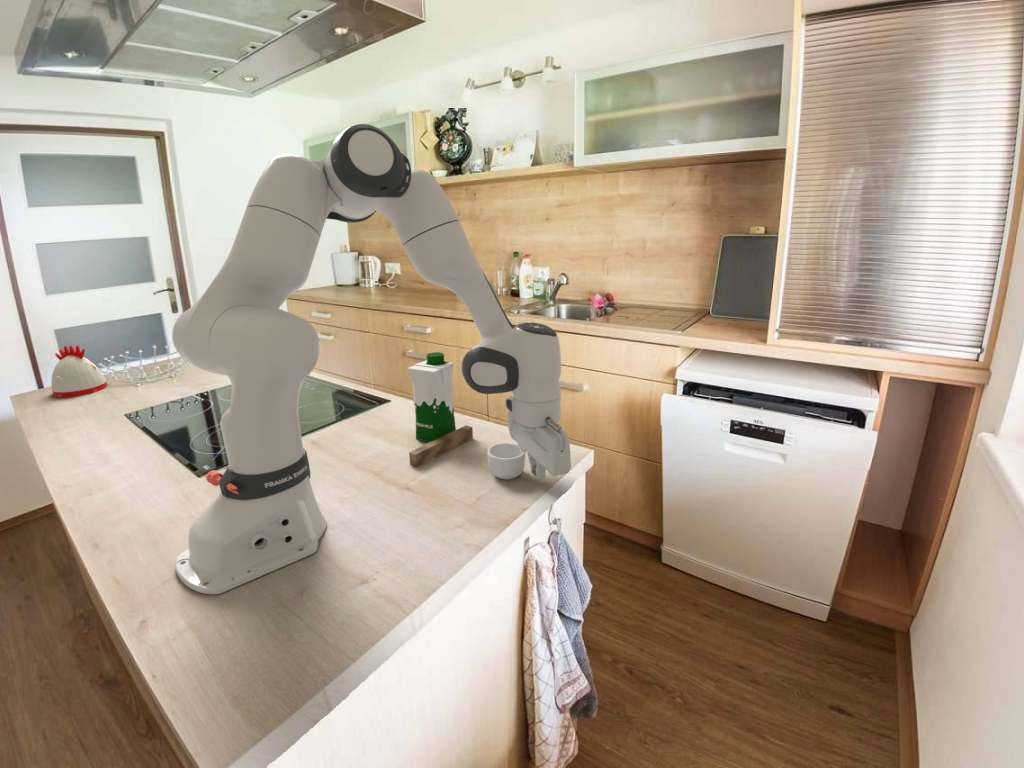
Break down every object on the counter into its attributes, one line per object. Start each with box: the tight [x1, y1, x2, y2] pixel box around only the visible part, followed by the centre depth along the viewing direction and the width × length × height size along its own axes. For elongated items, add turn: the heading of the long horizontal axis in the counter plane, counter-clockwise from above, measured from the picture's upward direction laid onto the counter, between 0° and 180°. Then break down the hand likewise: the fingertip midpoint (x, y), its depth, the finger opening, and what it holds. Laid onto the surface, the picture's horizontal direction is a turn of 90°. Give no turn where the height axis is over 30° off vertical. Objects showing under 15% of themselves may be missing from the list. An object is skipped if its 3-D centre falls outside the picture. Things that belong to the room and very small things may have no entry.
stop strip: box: [408, 424, 474, 468], centre depth 116 cm, size 18×2×3 cm, turn 142°
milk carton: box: [407, 352, 457, 443], centre depth 122 cm, size 9×9×20 cm
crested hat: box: [50, 344, 108, 398], centre depth 166 cm, size 14×14×15 cm
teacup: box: [485, 442, 527, 480], centre depth 106 cm, size 10×8×5 cm
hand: (538, 475), depth 101 cm, fingers closed
